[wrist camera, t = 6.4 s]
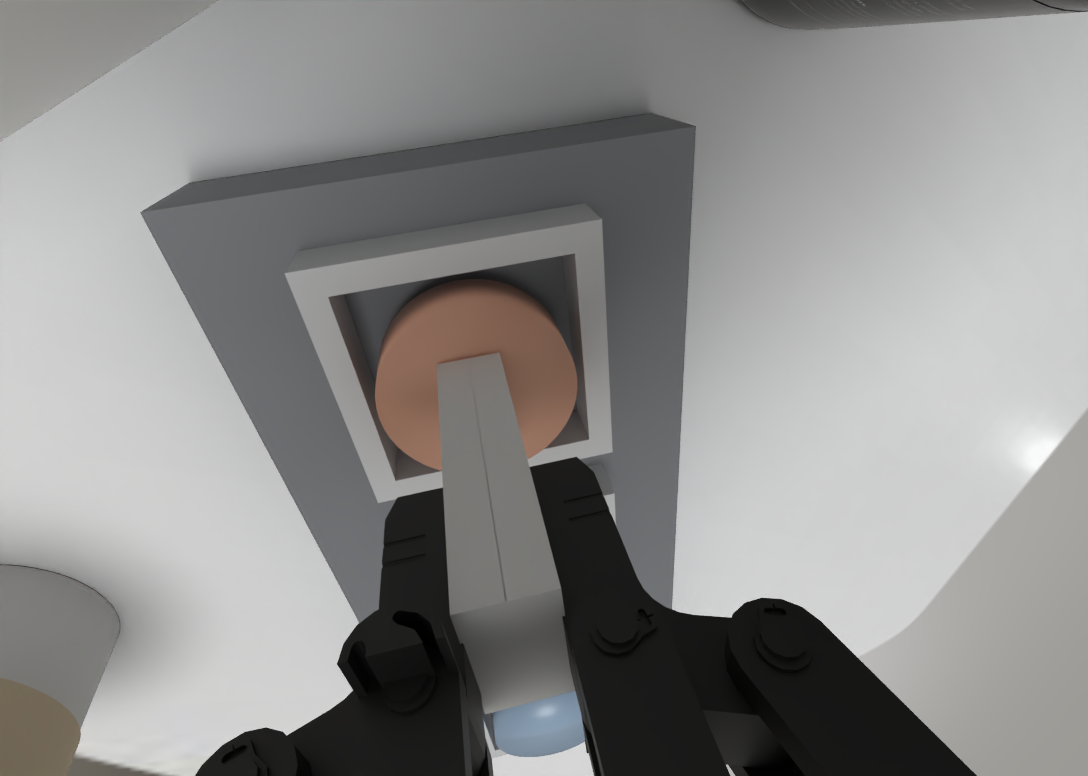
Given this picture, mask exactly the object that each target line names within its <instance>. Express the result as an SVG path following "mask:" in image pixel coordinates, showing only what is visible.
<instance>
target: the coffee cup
mask: <svg viewBox="0 0 1088 776" xmlns="http://www.w3.org/2000/svg"><path fill="white" fill-rule="evenodd" d="M119 632H120V622H119V618H118V615H117V613H116V611H115V610H114V608H113V607H112V606H111V604H110V603H109V602H108V601H107V600H106V599H105V598H104V597H103V596H101V595H100V594H99V593H97V592H96V591H94V590H93V589H91V588H90V587H88V586H86V585H84V584H82V583H80V582H78V581H76V580H73V579H71V578H68V577H66V576H63V575H60V574H56V573H53V572H49V571H45V570H40V569H35V568H29V567H22V566H11V565H0V776H66V775H67V772H68V770H69V767H70V765H71V762H72V760H73V757H74V754H75V752H76V749H77V747H78V744H79V741H80V736H81V733H80V729H81V726H82V724H83V721H84V719H85V717H86V714H87V712H88V709H89V707H90V704H91V702H92V699H93V697H94V694H95V692H96V689H97V687H98V685H99V682H100V680H101V677H102V675H103V672H104V670H105V667H106V665H107V662H108V660H109V658H110V655H111V653H112V650H113V648H114V645H115V643H116V640H117V638H118V635H119Z"/></svg>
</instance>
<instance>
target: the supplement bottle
mask: <svg viewBox="0 0 1088 776" xmlns="http://www.w3.org/2000/svg"><path fill="white" fill-rule="evenodd" d="M741 1H742V2H743V3H744V4H745V5H746V6H747V7H748V8H749V9H750V10H752V11H753V12H754V13H756V14H757V15H759V16H760V17H762V18H763V19H765V20H767V21H769V22H771V23H773V24H776V25H779V26H782V27H787V28H792V29H804V30H816V29H839V28H853V27H868V26H883V25H898V24H913V23H927V22H942V21H957V20H972V19H987V18H1001V17H1016V16H1031V15H1045V14H1060V13H1074V12H1087V11H1088V0H741Z"/></svg>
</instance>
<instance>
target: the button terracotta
mask: <svg viewBox="0 0 1088 776" xmlns="http://www.w3.org/2000/svg"><path fill="white" fill-rule="evenodd" d="M494 353H500V356H501V360H502V364H503V368H504V372H505V376H506V379H507V383H508V387H509V391H510V395H511V399H512V402H513V406H514V410H515V414H516V418H517V421H518V425H519V429H520V433H521V437H522V441H523V444H524V448H525V452H526V456H527V460H528V459H530V458H531V457H533V456H535V455H536V454H538V453H539V452H541V451H542V450H543V449H544V448H546V447H547V446H548V445H549V444H550V443H551V442H552V441H553V440H554V439H555V438H556V437H557V436H558V435H559V433H560V432H561V431H562V430H563V428H564V426H565V425H566V423H567V421H568V420H569V418H570V415H571V413H572V411H573V408H574V405H575V401H576V396H577V374H576V368H575V365H574V362H573V359H572V356H571V354H570V352H569V350H568V348H567V346H566V344H565V342H564V340H563V338H562V336H561V333H560V331H559V329H558V327H557V325H556V323H555V321H554V320H553V318H552V317H551V315H550V314H549V312H548V311H547V310H546V309H545V308H544V307H543V306H542V305H541V304H540V303H539V302H538V301H537V300H536V299H534V298H533V297H532V296H531V295H529V294H527V293H526V292H524V291H522V290H520V289H519V288H516V287H514V286H511V285H509V284H506V283H502V282H498V281H493V280H486V279H464V280H456V281H452V282H448V283H444V284H441V285H438V286H436V287H433V288H431V289H429V290H427V291H425V292H423V293H421V294H419V295H418V296H417V297H415V298H414V299H412V300H411V301H410V302H408V303H407V304H406V305H405V306H404V307H403V308H402V309H401V310H400V311H399V312H398V314H397V315H396V316H395V317H394V319H393V320H392V322H391V323H390V325H389V327H388V329H387V330H386V333H385V335H384V338H383V340H382V345H381V349H380V355H379V362H378V370H377V378H376V386H375V402H376V409H377V413H378V417H379V419H380V422H381V424H382V426H383V428H384V430H385V431H386V433H387V435H388V436H389V438H390V439H391V440H392V441H393V442H394V443H395V445H396V446H397V447H398V448H400V449H401V450H402V451H403V452H404V453H405V454H407V455H408V456H410V457H411V458H413V459H414V460H416V461H418V462H420V463H422V464H424V465H426V466H429V467H432V468H434V469H437V470H441V471H442V460H441V441H440V423H439V404H438V385H437V367H436V365H437V364H442V363H447V362H452V361H457V360H463V359H468V358H473V357H478V356H483V355H488V354H494Z"/></svg>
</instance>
